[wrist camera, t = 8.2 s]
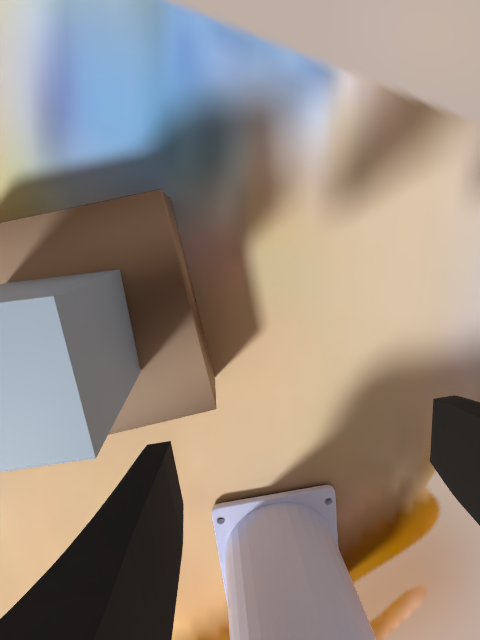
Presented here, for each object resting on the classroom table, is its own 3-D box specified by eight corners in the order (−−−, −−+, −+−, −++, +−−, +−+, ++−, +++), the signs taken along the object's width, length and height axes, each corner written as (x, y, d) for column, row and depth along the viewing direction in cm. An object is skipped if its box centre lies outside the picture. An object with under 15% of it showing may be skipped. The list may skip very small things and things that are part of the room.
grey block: (140, 371, 15) (95, 458, 9) (36, 385, 15) (-76, 482, 9) (119, 269, 14) (53, 296, 8) (6, 282, 14) (-145, 320, 8)
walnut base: (214, 374, 20) (216, 408, 16) (45, 414, 20) (5, 458, 16) (170, 198, 17) (160, 188, 13) (-26, 240, 17) (-95, 243, 13)
